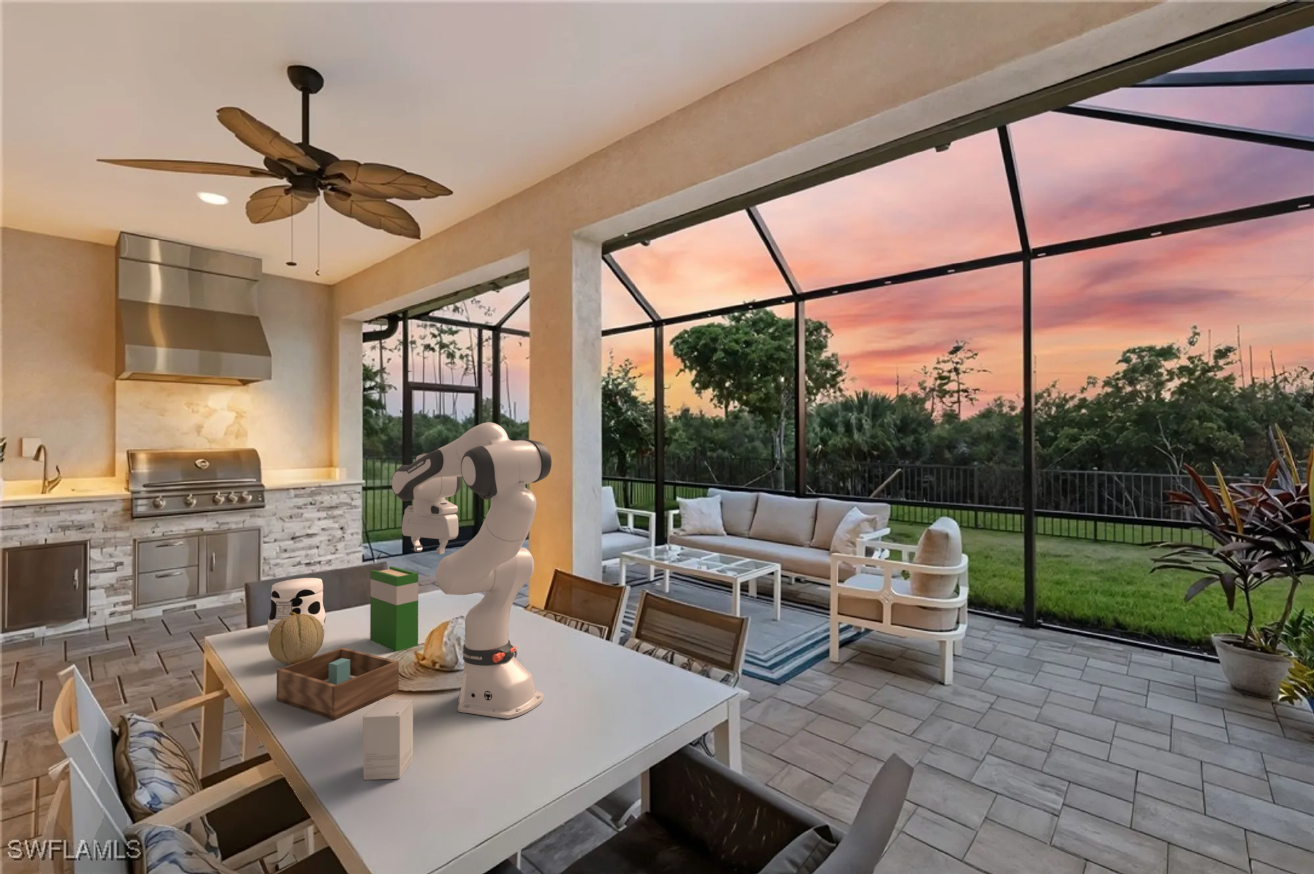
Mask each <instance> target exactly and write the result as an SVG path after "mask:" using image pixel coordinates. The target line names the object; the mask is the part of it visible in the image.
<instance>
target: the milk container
mask: <svg viewBox="0 0 1314 874" xmlns="http://www.w3.org/2000/svg"><path fill="white" fill-rule="evenodd" d="M323 591H324V584H323V579H322V578H317V577H301V578H292V579H287V580H283V581H279V582H275V583H274V584H272V585H271V592H270V593H271V594H270V595H271V596H270V597H271V598H270V613H269V616H268V619H267V630H268V633H269V634H270V632H271V631H272V629H273V628H274V626H275V625H276V624H277V623H278V622H279V621H281V620H282V619H284V618H286V617H289V616H292V615H289V614H290V612H294V613H296V614H308V615H312V616H314V617H315V618H316V619H317V620H318V621H320V623H321V625H322V626H323V627H324V625H326V614H327V613H326V610H325V608H324V603H323V601H324V600H323V599H324V592H323Z"/></svg>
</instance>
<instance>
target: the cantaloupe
mask: <svg viewBox="0 0 1314 874" xmlns="http://www.w3.org/2000/svg"><path fill="white" fill-rule="evenodd" d="M289 615H292V616H289V617H286V618H284V619H282V620H281V621H279V622H278V623H277V624H276V625H275V626H274V628H273V629H272V631H271V632H270V633H269V636H268V640H267V646H268V651H269V653H270V655H271V656H272V658H273V659H274V660H276V661H278V662H279V663H282V664H287V665H292V664H295V663H298V662H301V661H304V660H307V659H309V658H312V657H314V656H316V654H317V653H318V652H319V650H320V649H321V647H322V645H323V643H324V638H325V631H324V626H322V625H321V623H320V621H318V620H317V619H316V618H315V617H314V616H312V615H308V614H296V613H294V612H290V614H289Z"/></svg>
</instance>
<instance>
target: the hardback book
mask: <svg viewBox="0 0 1314 874" xmlns="http://www.w3.org/2000/svg"><path fill="white" fill-rule="evenodd" d="M369 586H370V592H369V593H370V601H369V602H370V606H369V609H370V612H369V613H370V614H369V616H370V618H369V619H370V621H369V636H370V638H369V640H370V641H371V642H372V643H375V644H377V645H380V646H382V647H384V648H387V649H389V650H392V651H393V652H395V653H397V652H401V651H404V650H407V649H410V648H415V647H417V646H419V573H418V572H416V571H410V570H407V569H403V568H399V567H395V566H389V568H387V569H382V570H376V569H370V585H369Z"/></svg>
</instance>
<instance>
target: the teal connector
mask: <svg viewBox="0 0 1314 874" xmlns="http://www.w3.org/2000/svg"><path fill="white" fill-rule="evenodd" d="M349 679H350V659H344V658H341V659H338V660H336V661H334V662H331V663H329V683H332V684H335V685H337V684H339V683H342V682H344V681H347V680H349Z"/></svg>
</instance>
